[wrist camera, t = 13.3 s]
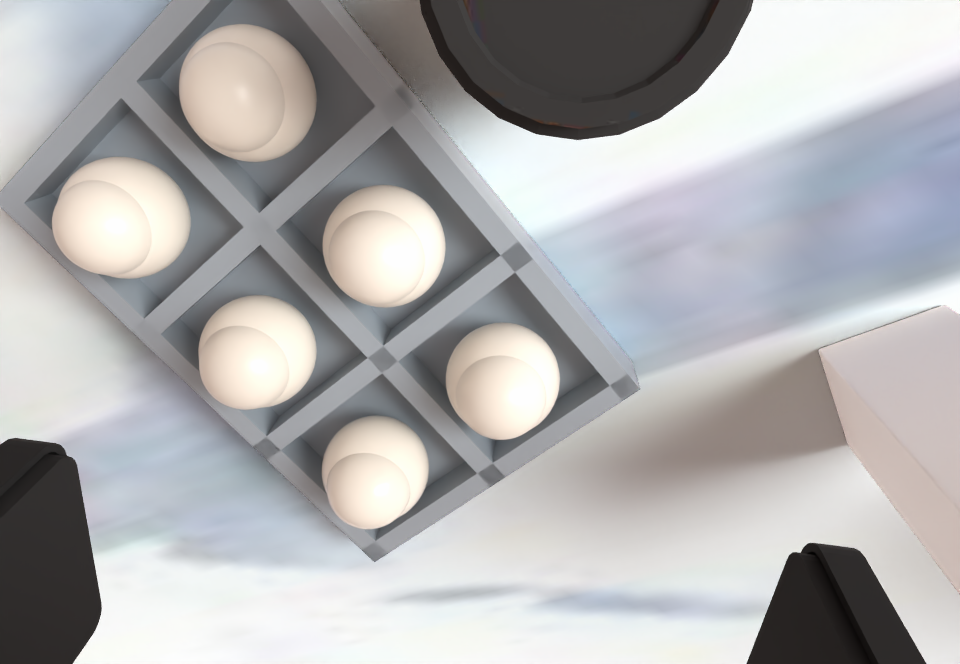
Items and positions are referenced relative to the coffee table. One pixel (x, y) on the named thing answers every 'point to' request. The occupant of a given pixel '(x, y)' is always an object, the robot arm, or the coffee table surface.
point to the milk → (907, 421)
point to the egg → (374, 471)
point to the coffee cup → (583, 57)
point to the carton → (315, 252)
